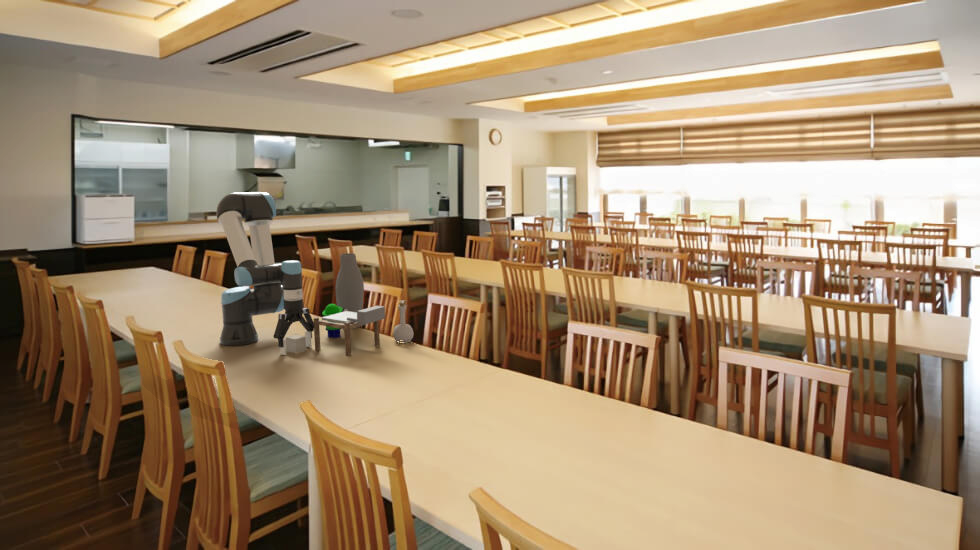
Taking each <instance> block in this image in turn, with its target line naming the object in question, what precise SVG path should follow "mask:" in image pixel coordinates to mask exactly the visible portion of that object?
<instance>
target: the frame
mask: <svg viewBox="0 0 980 550" xmlns="http://www.w3.org/2000/svg"><path fill="white" fill-rule="evenodd" d="M344 311H348V310H343V312H344ZM313 322H314V331H313V332H314V335H313V336H314V337H313V338H314V350H315V351H321V349H322V348H321V335H320V334H321V333H320V332H321V331H320V330H321V329H320V326H322V327H323V326H324V327H326V326H329V327H335V328H341V330H344V331H343V332H344V343H345V344H344V345H345V357H352V339H351V329H355V328H354V327H357V326H361V325H363V326H364V324H357V322H354V323H351V324H350V322H346V323H344V324H341V323H334V322H328V321H325V320H322V319H320V317H316V316H315V317H313ZM373 335H374V336H373V338H374V340H373V343H374V346H375V345H376V346H375V347H379V346H380V344H381V341H380V340H381V339H380V320H379V321H375V322H373ZM378 345H379V346H378Z"/></svg>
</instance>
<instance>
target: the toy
mask: <svg viewBox="0 0 980 550" xmlns="http://www.w3.org/2000/svg"><path fill="white" fill-rule="evenodd" d="M343 310H344V308H341V307H338V306H337V304H336V303H329V304H328V305H326V307H325V308H324V310H323V311H322V313H321V314H322V315H323V316H324V317H325V316H329V315H333V314H337V313H340V312H343ZM328 322H332V321H328ZM334 323H338V322H334ZM341 330H342V329H341V328H335V327H329V326H325V331H327V337H328V338H334V339H338V338H339V339H340V338H341Z"/></svg>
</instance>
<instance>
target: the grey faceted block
mask: <svg viewBox="0 0 980 550" xmlns="http://www.w3.org/2000/svg"><path fill="white" fill-rule="evenodd" d="M385 319H386V306H384V305H375V306H371V307H367V308H363V309H362V310H359V311H357V312H350V311H344V312H340V313H337V314H333V315H329V316H325V315H324V316H322V317H321V320H322V321H332V322H338V323H346V322H350V323H352V322H356V321H357V324H364V325H368V324H371V323H374V322H375V321H379V322H380V321H382V320H385ZM364 325H363V326H364Z"/></svg>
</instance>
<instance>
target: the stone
mask: <svg viewBox="0 0 980 550" xmlns="http://www.w3.org/2000/svg"><path fill="white" fill-rule="evenodd" d="M284 339H286V353H291V354H296V355H297V354H300V353H303V352H306V351H307V347H306V338H305V335H298V334H293V335H290V336H285V337H284Z"/></svg>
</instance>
